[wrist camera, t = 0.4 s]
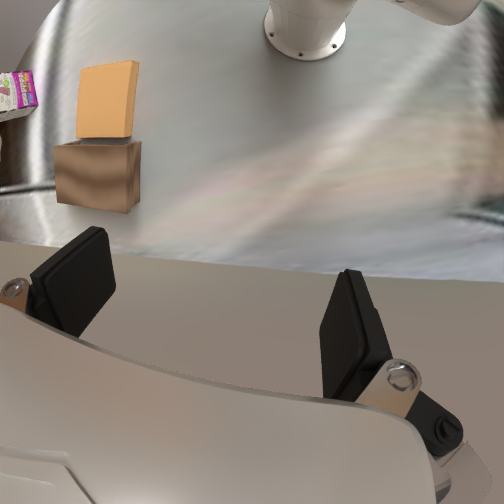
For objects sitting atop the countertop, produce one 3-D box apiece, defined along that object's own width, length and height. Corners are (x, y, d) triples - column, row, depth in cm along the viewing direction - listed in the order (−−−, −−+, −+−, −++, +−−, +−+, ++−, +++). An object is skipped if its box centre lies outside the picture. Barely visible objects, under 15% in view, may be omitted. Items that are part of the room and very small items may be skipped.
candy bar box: (21, 81, 36) (-28, 88, 21) (32, 69, 34) (-20, 74, 20) (28, 116, 40) (-24, 129, 26) (39, 105, 39) (-16, 116, 25)
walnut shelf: (74, 141, 43) (53, 146, 37) (145, 141, 42) (126, 146, 37) (75, 192, 48) (57, 202, 43) (143, 202, 48) (126, 213, 42)
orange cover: (89, 69, 36) (81, 68, 33) (139, 62, 35) (132, 60, 33) (84, 135, 42) (75, 137, 40) (131, 135, 42) (123, 137, 40)
